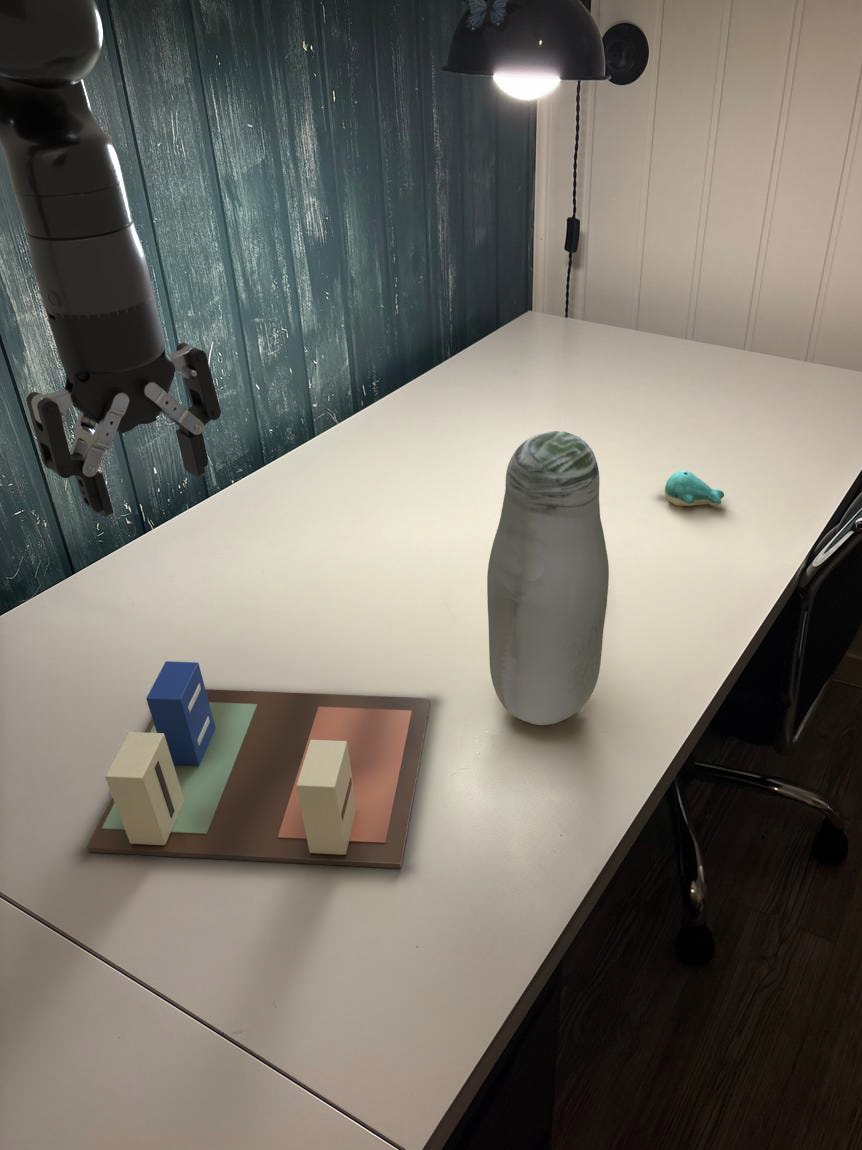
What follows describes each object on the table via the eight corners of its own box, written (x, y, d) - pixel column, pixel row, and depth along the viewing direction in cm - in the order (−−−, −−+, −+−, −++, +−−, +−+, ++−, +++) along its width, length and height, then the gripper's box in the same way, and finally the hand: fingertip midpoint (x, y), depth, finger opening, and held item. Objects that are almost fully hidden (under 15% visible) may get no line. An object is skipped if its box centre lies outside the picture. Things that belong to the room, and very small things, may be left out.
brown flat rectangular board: (88, 852, 78) (86, 846, 78) (169, 692, 94) (168, 686, 93) (400, 868, 76) (400, 863, 76) (430, 702, 92) (429, 697, 92)
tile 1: (129, 844, 78) (103, 776, 73) (150, 798, 82) (127, 731, 77) (166, 846, 78) (142, 778, 73) (185, 800, 82) (164, 732, 77)
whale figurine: (671, 485, 124) (674, 459, 122) (726, 496, 122) (731, 470, 120) (658, 506, 120) (661, 479, 118) (715, 518, 118) (719, 491, 115)
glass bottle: (570, 757, 86) (587, 482, 68) (472, 720, 90) (464, 452, 72) (613, 693, 93) (637, 428, 75) (519, 662, 97) (522, 403, 79)
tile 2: (308, 853, 77) (295, 785, 72) (321, 806, 81) (309, 739, 76) (346, 855, 77) (335, 787, 72) (357, 808, 80) (347, 740, 76)
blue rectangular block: (166, 765, 85) (145, 698, 80) (184, 726, 89) (165, 660, 84) (199, 766, 85) (180, 699, 80) (216, 727, 89) (199, 662, 84)
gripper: (157, 258, 74) (199, 448, 84) (-24, 306, 66) (47, 510, 76) (212, 278, 70) (249, 475, 80) (26, 332, 62) (94, 543, 72)
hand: (150, 492), depth 78 cm, fingers open, 8 cm apart
